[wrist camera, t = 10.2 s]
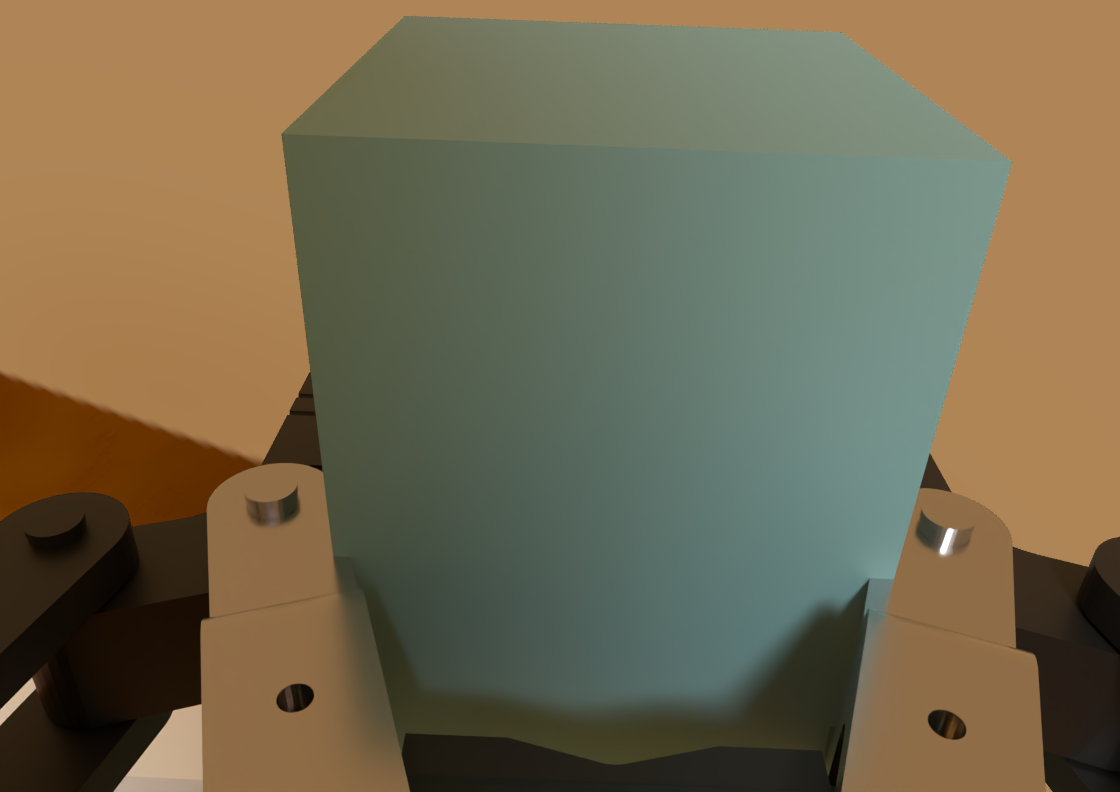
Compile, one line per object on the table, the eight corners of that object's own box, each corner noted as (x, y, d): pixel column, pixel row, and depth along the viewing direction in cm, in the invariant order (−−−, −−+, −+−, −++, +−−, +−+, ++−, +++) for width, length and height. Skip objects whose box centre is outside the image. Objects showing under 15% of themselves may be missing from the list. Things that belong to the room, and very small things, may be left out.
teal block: (390, 1027, 13) (281, 135, 6) (440, 724, 17) (404, 15, 11) (762, 1042, 13) (1013, 161, 6) (717, 736, 17) (840, 32, 11)
